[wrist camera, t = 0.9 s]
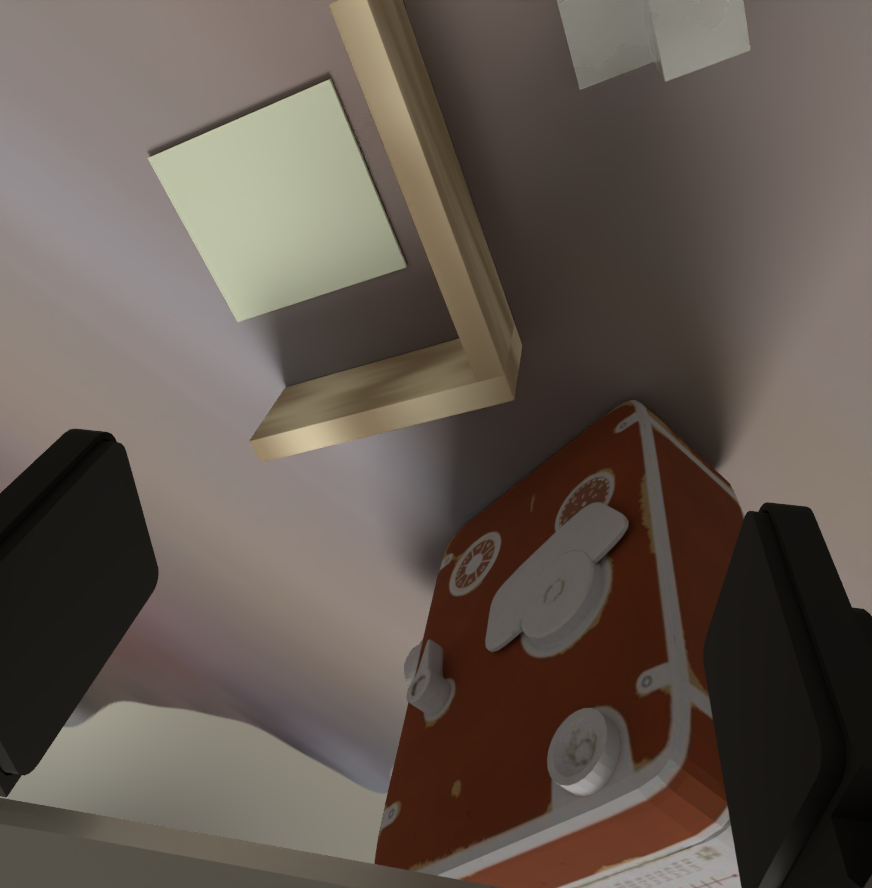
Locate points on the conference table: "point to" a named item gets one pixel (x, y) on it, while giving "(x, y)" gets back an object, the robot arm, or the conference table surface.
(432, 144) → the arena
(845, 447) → the conference table surface
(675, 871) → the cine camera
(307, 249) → the pad
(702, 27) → the bracket
